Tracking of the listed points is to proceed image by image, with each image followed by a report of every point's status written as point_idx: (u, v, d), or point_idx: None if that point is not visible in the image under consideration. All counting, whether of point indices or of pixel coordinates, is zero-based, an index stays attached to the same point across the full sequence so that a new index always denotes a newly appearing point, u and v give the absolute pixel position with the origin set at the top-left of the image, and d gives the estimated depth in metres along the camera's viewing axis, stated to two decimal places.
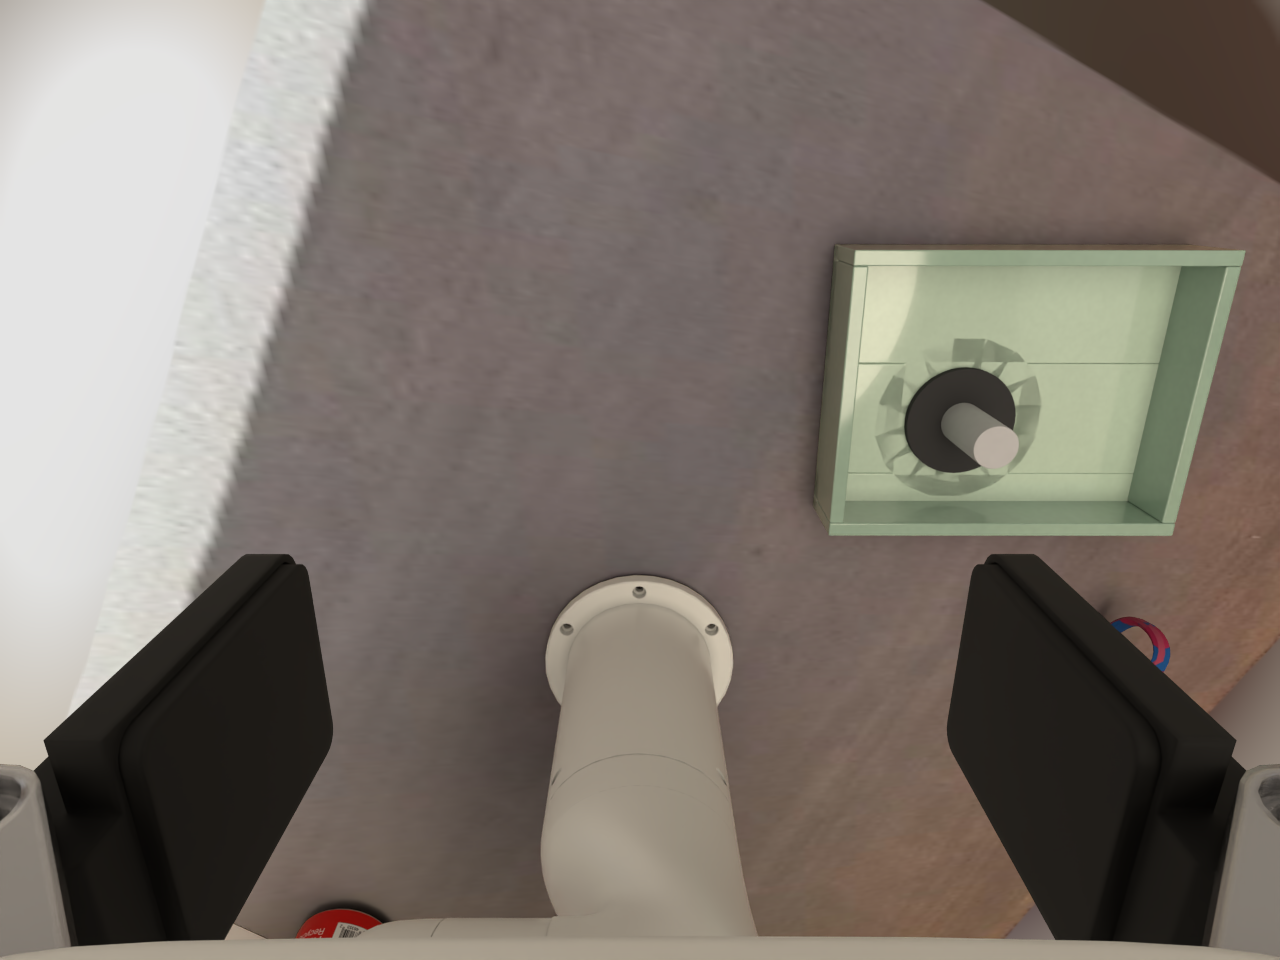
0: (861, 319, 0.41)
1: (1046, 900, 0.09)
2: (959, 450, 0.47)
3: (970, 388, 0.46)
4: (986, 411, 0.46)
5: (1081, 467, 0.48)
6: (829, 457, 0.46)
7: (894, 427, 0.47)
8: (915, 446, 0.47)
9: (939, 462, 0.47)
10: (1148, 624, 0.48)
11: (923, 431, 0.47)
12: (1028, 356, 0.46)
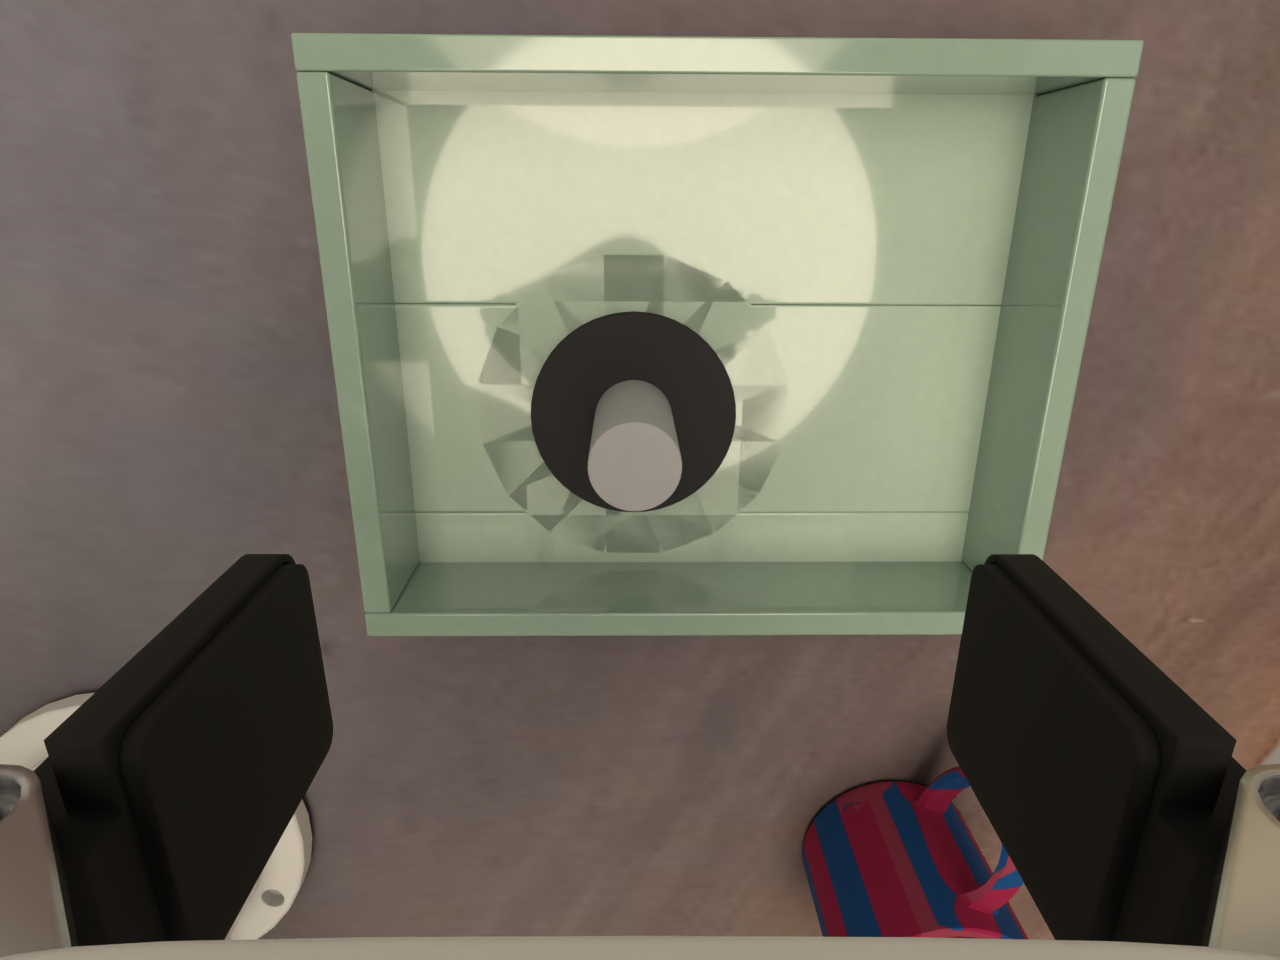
0: (338, 194, 0.19)
1: (1046, 900, 0.09)
2: None
3: (641, 352, 0.24)
4: (678, 396, 0.24)
5: (874, 502, 0.26)
6: None
7: (516, 427, 0.25)
8: (553, 463, 0.25)
9: None
10: None
11: (563, 434, 0.25)
12: (751, 291, 0.24)
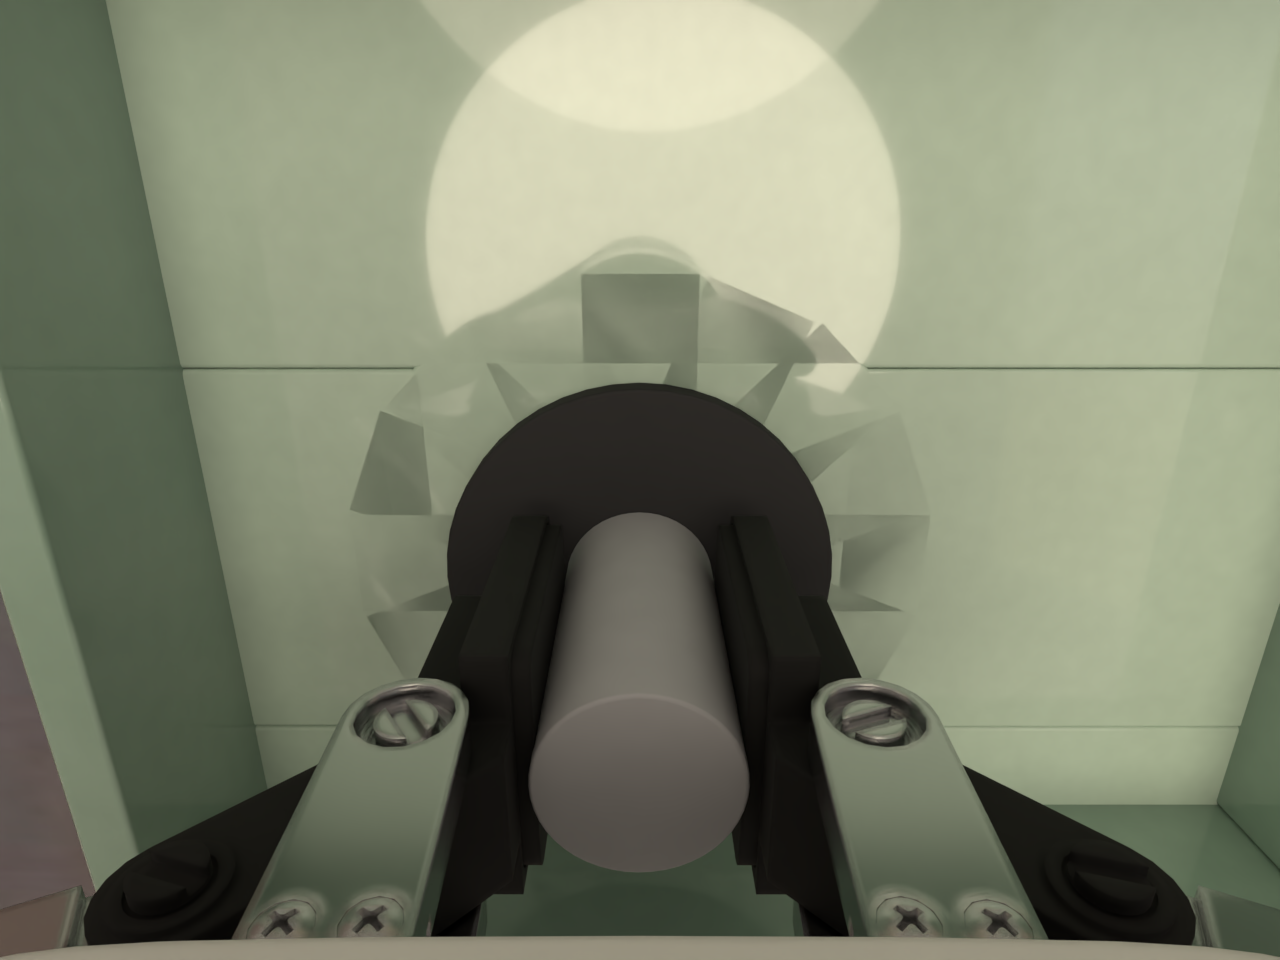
0: None
1: None
2: None
3: (655, 461, 0.12)
4: None
5: (1071, 710, 0.15)
6: None
7: (426, 588, 0.14)
8: None
9: None
10: None
11: None
12: (868, 343, 0.12)
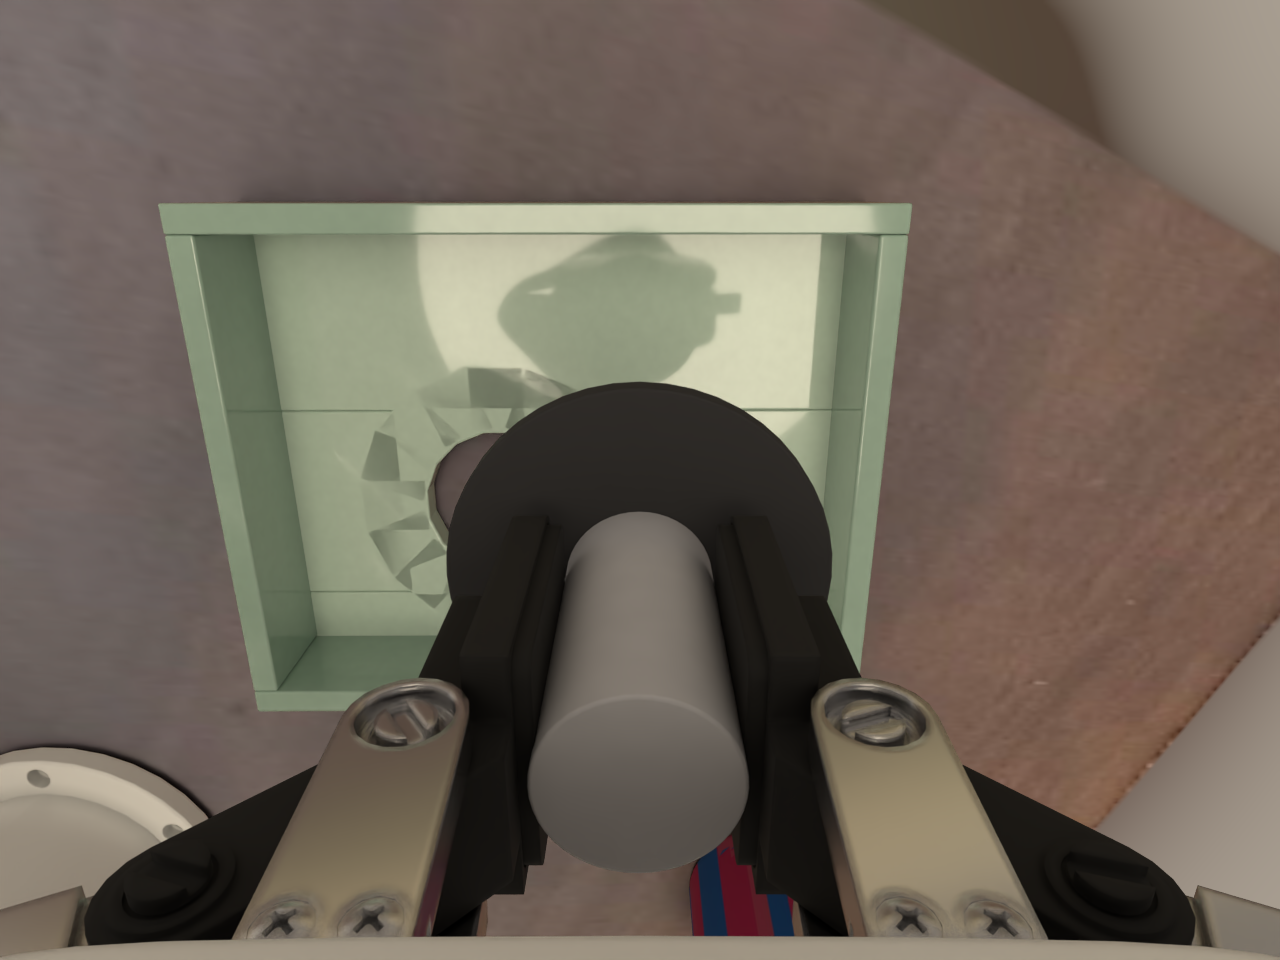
0: (208, 336, 0.22)
1: None
2: None
3: (655, 460, 0.12)
4: None
5: None
6: None
7: (398, 517, 0.28)
8: None
9: None
10: None
11: None
12: None
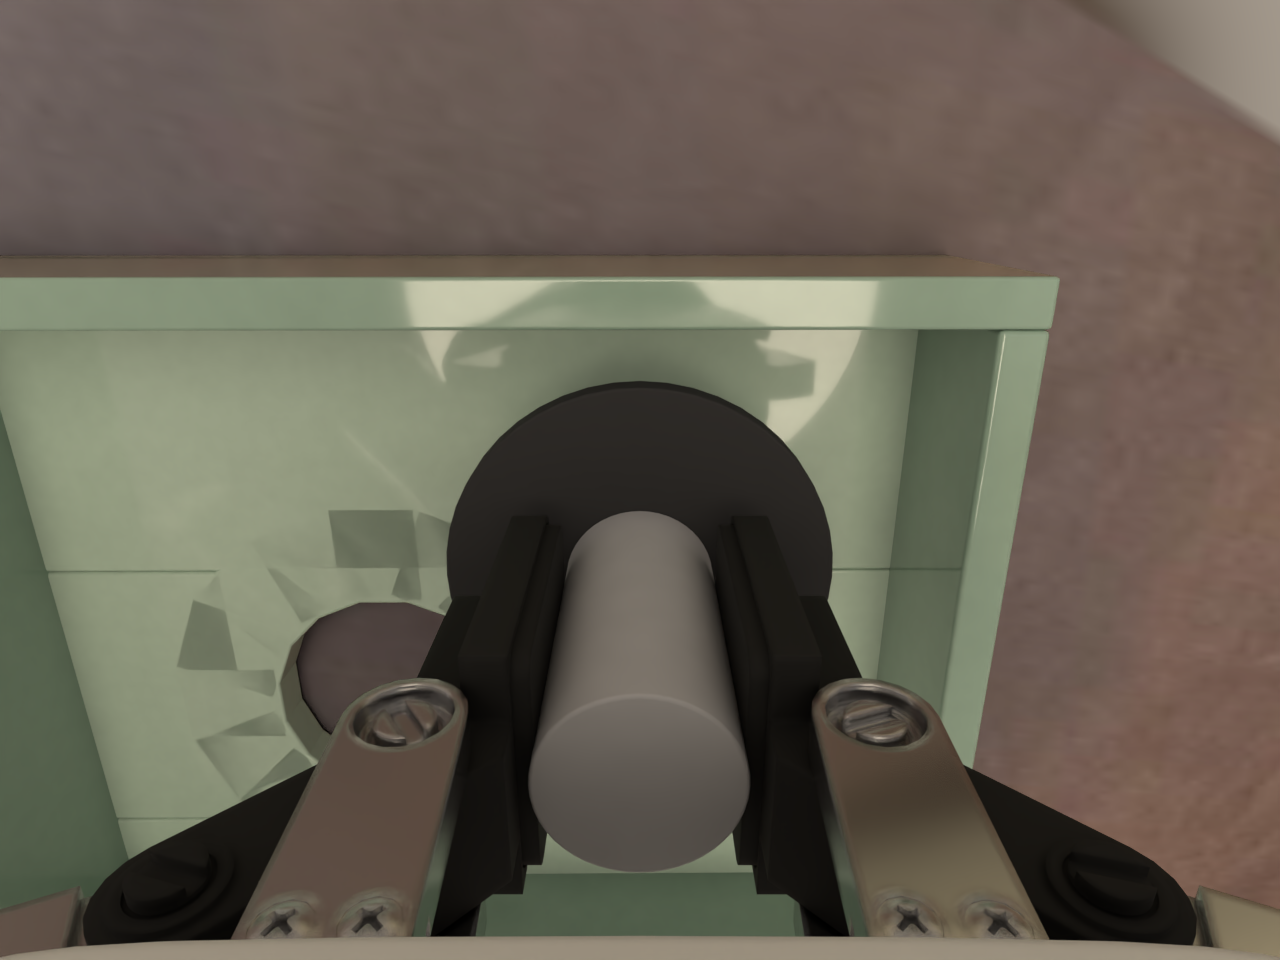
0: None
1: None
2: None
3: (655, 460, 0.12)
4: None
5: None
6: None
7: (238, 719, 0.19)
8: None
9: None
10: None
11: None
12: None
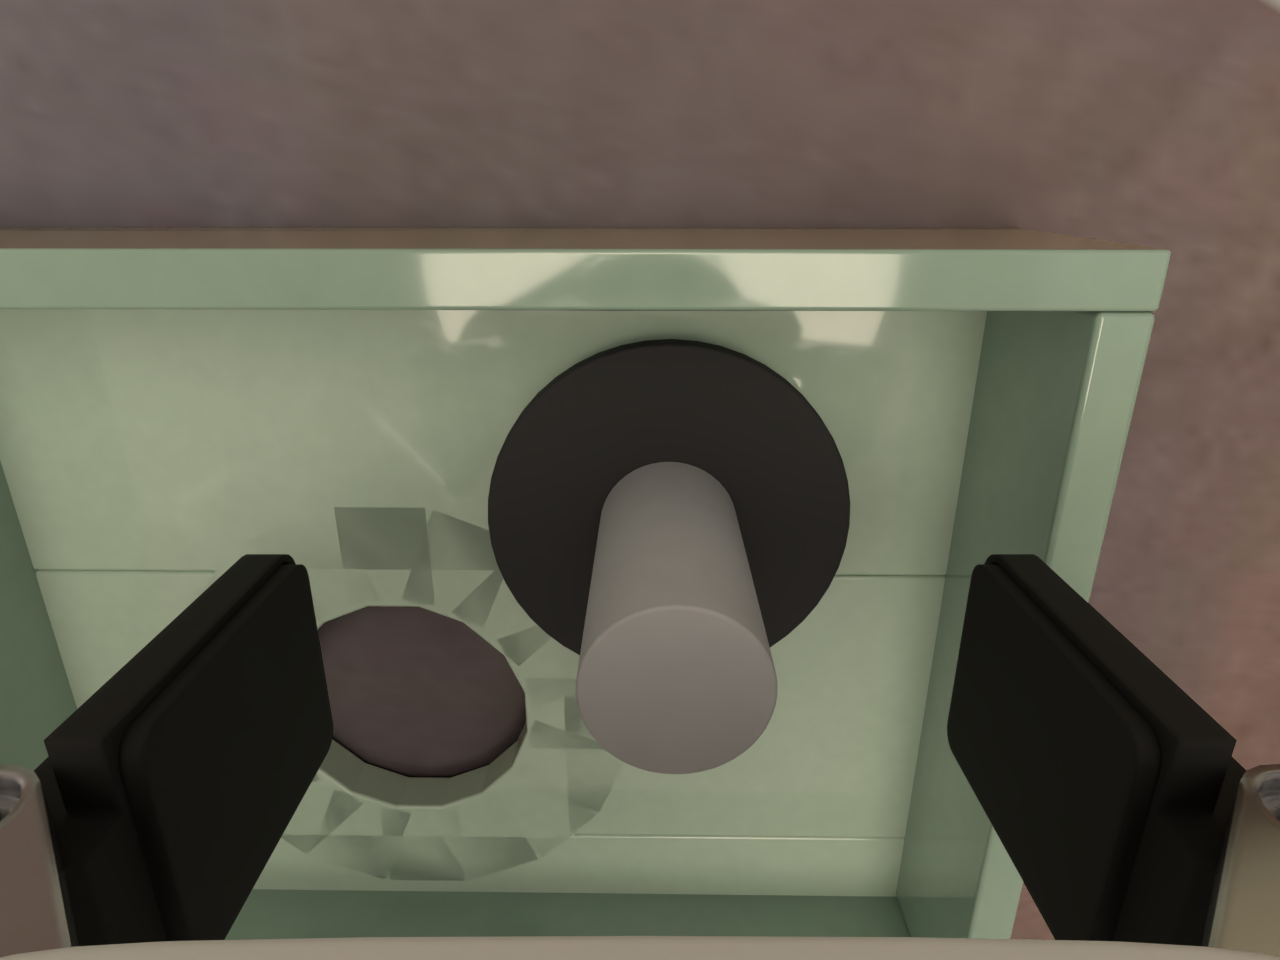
0: None
1: (1046, 900, 0.09)
2: None
3: (685, 413, 0.13)
4: (749, 490, 0.14)
5: (765, 824, 0.18)
6: None
7: None
8: (529, 598, 0.14)
9: None
10: None
11: (546, 551, 0.14)
12: None
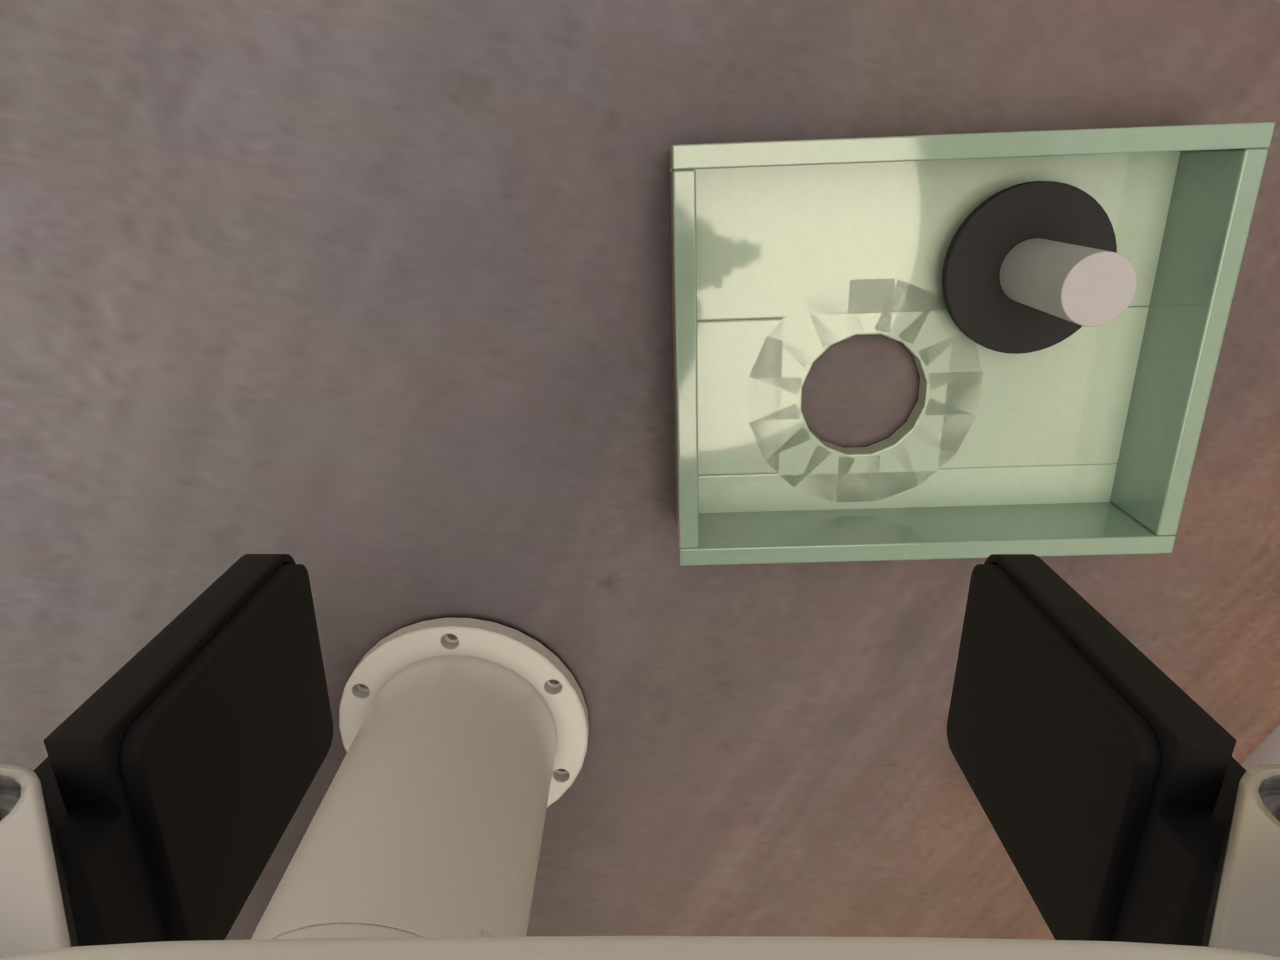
0: (693, 252, 0.28)
1: (1046, 900, 0.09)
2: (1027, 317, 0.31)
3: (1046, 214, 0.29)
4: None
5: (1043, 457, 0.34)
6: None
7: (775, 409, 0.34)
8: (959, 312, 0.31)
9: (997, 337, 0.31)
10: None
11: (971, 287, 0.30)
12: None
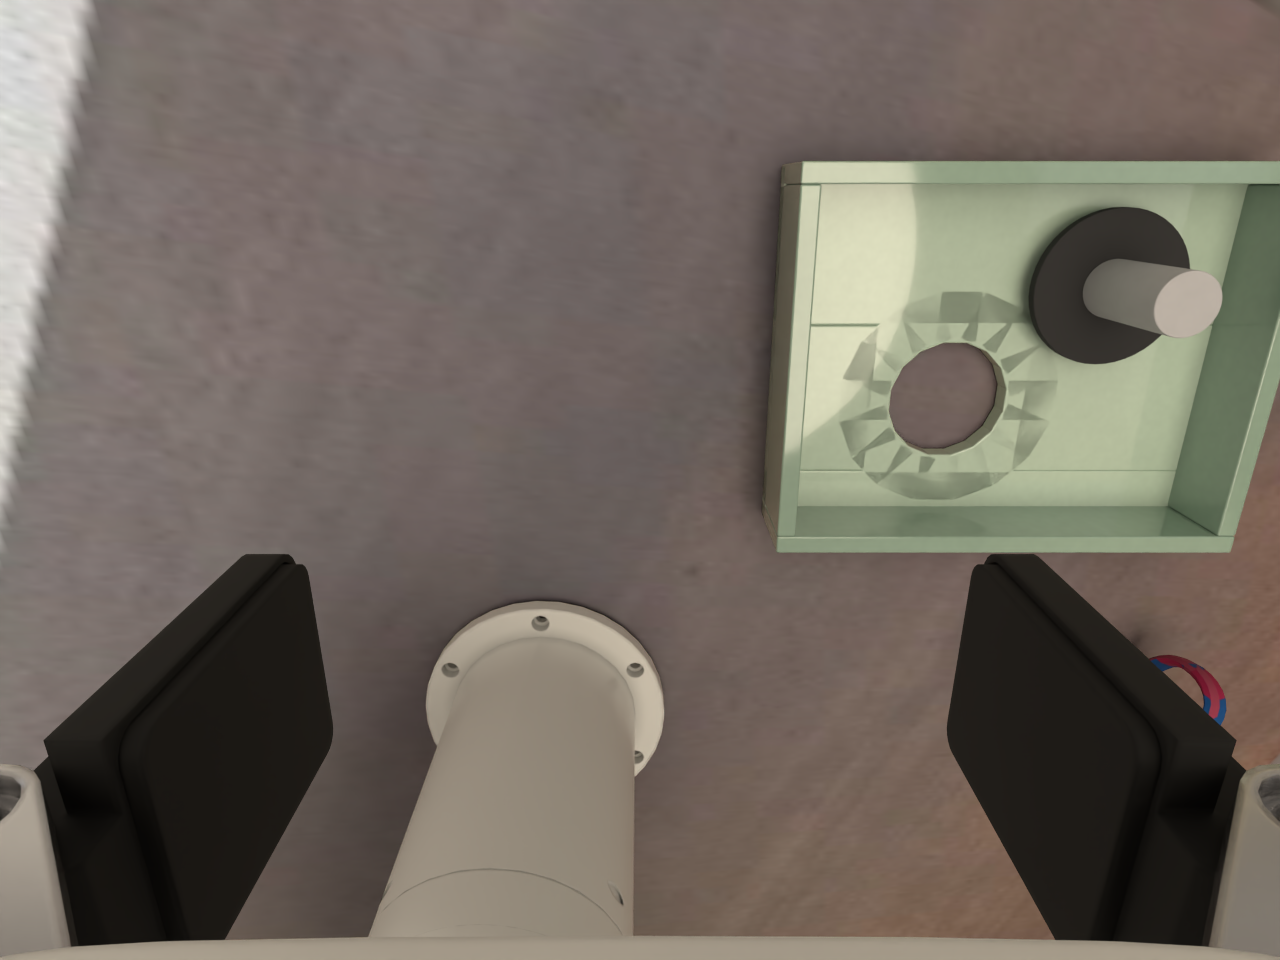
0: (813, 259, 0.30)
1: (1046, 900, 0.09)
2: (1106, 330, 0.33)
3: (1128, 237, 0.32)
4: None
5: (1109, 463, 0.37)
6: (777, 449, 0.34)
7: (864, 410, 0.36)
8: (1044, 324, 0.33)
9: (1077, 349, 0.34)
10: (1195, 666, 0.37)
11: (1056, 301, 0.33)
12: None
